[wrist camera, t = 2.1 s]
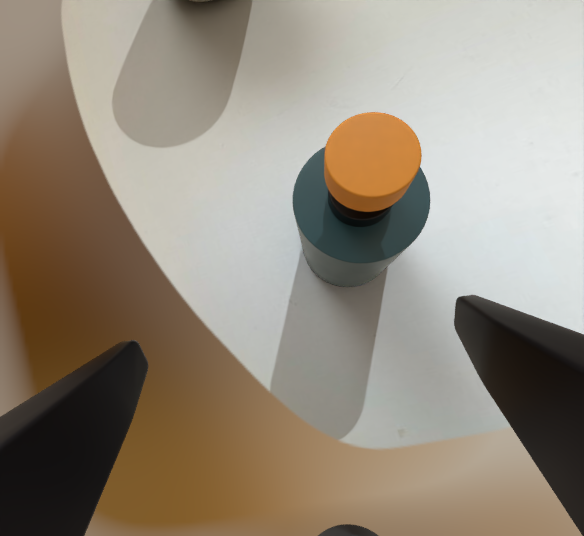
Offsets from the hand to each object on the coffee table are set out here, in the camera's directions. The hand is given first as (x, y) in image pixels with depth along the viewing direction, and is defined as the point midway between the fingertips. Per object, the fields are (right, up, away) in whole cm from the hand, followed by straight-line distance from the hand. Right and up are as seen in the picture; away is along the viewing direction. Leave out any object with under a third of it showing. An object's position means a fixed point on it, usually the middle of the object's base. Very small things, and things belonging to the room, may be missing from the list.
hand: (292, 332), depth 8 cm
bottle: (+4, +4, +16) cm, 17 cm away
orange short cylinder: (+3, +6, +5) cm, 8 cm away
